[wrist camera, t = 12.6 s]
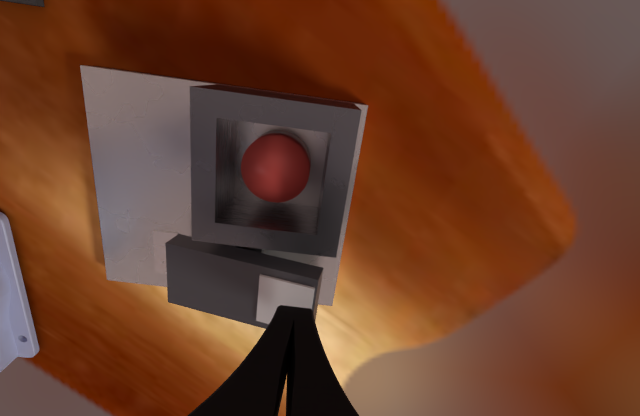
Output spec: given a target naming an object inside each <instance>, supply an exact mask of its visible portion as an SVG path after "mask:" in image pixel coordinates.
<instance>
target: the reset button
mask: <svg viewBox="0 0 640 416" xmlns="http://www.w3.org/2000/svg"><path fill="white" fill-rule="evenodd" d="M310 166H311V158H310V153H309V150H308V148H307V146H306V145H305V143H304V142H303V141H302V140H301V139H300V138H299V137H298V136H296V135H295V134H293V133H291V132H288V131H283V130H273V131H269V132H266V133H264V134H262V135H261V136H260V137H258V138H257V139H256V140H255V141H254V142H253V143H252V144H251V145H250V146H249V147H248V148H247V149H246V151H245V153H244V155H243V157H242V161H241V174H242V178H243V180H244V183H245V184H246V186H247V187H248V189H249V190H250V191H251V192H252V193H253V194H254V195H256V196H257V197H259V198H260V199H263V200H265V201H268V202H276V203H278V202H285V201H289V200H291V199H293V198H295V197H296V196H298V195H299V194H300V193H301V192H302V191H303V189H304V188H305V186H306V184H307V182H308V179H309V173H310Z"/></svg>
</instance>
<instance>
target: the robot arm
mask: <svg viewBox="0 0 640 416" xmlns="http://www.w3.org/2000/svg"><path fill="white" fill-rule="evenodd" d="M38 352H39V345H38V341H37V337H36V332H35V328H34V324H33V320H32V316H31V311H30V307H29V303H28V299H27V295H26V291H25V286H24V282H23V278H22V274H21V270H20V265H19V261H18V257H17V253H16V249H15V245H14V240H13V236H12V232H11V228H10V224H9V220H8V218H7V216H6V215H5V214H3V213H2V212H0V372H1V371H2V370H3V369H5V368H6V367H7V366H8V365H9V364H10V363H11V362H12V361H13V360H14V359H16V358H17V357H26V358H30V357H34V356H35V355H36V354H37V353H38ZM286 376H287V396H286V416H359V415H358V414H357V412H356V410H355V409H354V408H353V406H352V405H351V403H350V401H349V400H348V398H347V396H346V395H345V393H344V391H343V389H342V388H341V386H340V384H339V382H338V380H337V378H336V376H335V374H334V372H333V370H332V368H331V366H330V363H329V361H328V359H327V356H326V354H325V351H324V349H323V346H322V343H321V341H320V338H319V335H318V331H317V328H316V324H315V320H314V313H313V310H312V309H311V308H302V307H293V306H285V305H280V306H278V307H277V309H276V312H275V314H274V316H273V318H272V320H271V322H270V323H269V325H268V327H267V329H266V330H265V332H264V333H263V335H262V336H261V338H260V339H259V341H258V342H257V344H256V345H255V346H254V348H253V349H252V350H251V352H250V353H249V354H248V356H247V357H246V358H245V359H244V361H243V362H242V363H241V364H240V366H239V367H238V368H237V369H236V370H235V371H234V372H233V373H232V375H231V376H230V377H229V378H228V379H227V380H226V381H225V382H224V383H223V384H222V385H221V386H220V387H219V388H218V389H217V390H216V391H215V392H214V393H213V394H212V395H211V396H210V397H209V398H207V399H206V400H205V401H204V402H203V403H202V404H201V405H199V406H198V407H197V408H196V409H195V410H194V411H192V412H191V413H190V414H189V415H188V416H278V412H279V407H280V403H281V398H282V394H283V389H284V385H285V380H286Z"/></svg>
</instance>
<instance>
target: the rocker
mask: <svg viewBox="0 0 640 416" xmlns="http://www.w3.org/2000/svg"><path fill="white" fill-rule="evenodd" d="M165 246H166V267H167V288H168V302H170V303H174V304H177V305H181V306H184V307H188V308H192V309H195V310H199V311H203V312H206V313H210V314H214V315H217V316H221V317H225V318H228V319H232V320H236V321H239V322H243V323H247V324H250V325H254V326H258V327H261V328H265V329H267V327H268V325H269V323H270V322H271V320H272V318H273V316H274V314H275V312H276V309H277V307H278V306H280V305H285V306H293V307H302V308H311V309H312V310H313V313H314V320H315V319H316V313H317V306H318V300H319V294H320V287H321V281H322V275H323V268H322V267H318V266H314V265H310V264H305V263H301V262H297V261H293V260H288V259H284V258H280V257H276V256H271V255H267V254H263V253H259V252H254V251H250V250H246V249H242V248H237V247H233V246H229V245H225V244H217V243H209V242H201V241H192V237H191V236H187V235H182V234H178V235H177V236H175V237H174V238H172V239H171V240H169V241H168V242H166V243H165Z"/></svg>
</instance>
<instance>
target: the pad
mask: <svg viewBox="0 0 640 416" xmlns="http://www.w3.org/2000/svg"><path fill="white" fill-rule="evenodd" d="M0 1H7V2H14V3H20V4H27V5H34V6H41V7H44V2H43V0H0Z"/></svg>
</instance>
